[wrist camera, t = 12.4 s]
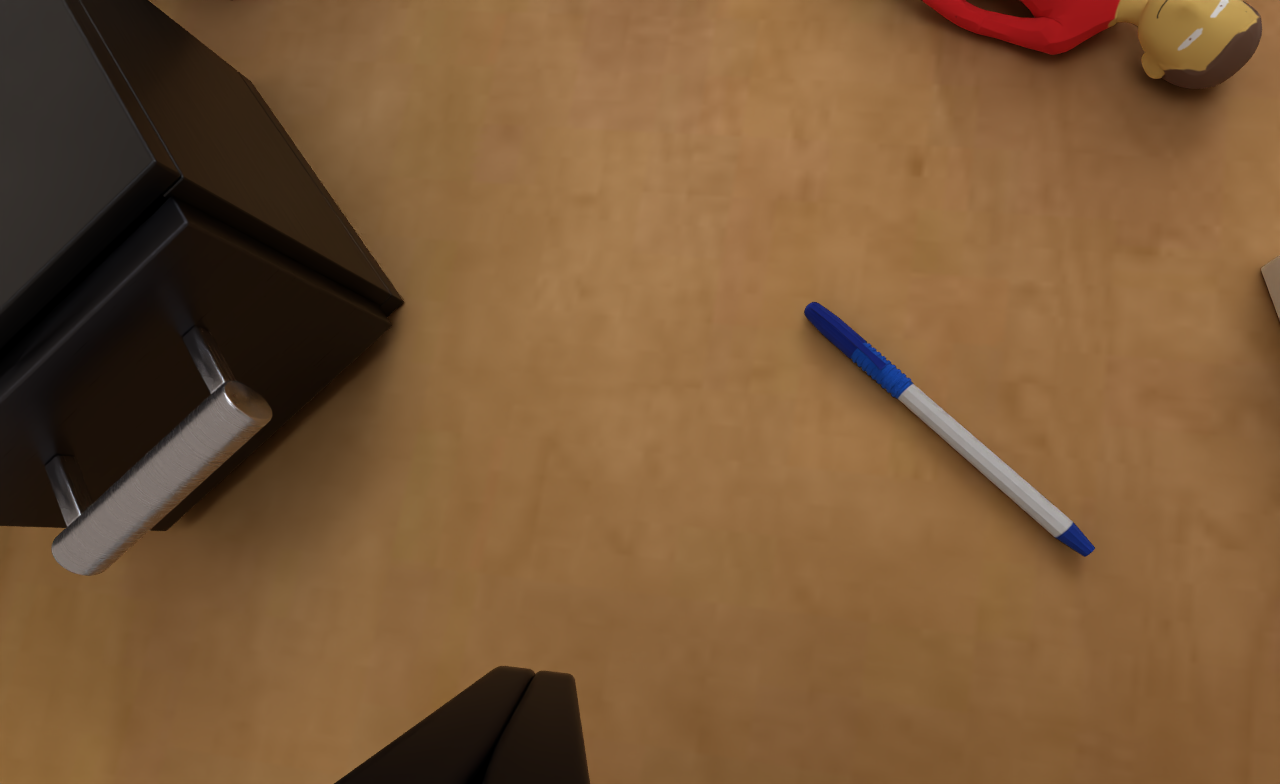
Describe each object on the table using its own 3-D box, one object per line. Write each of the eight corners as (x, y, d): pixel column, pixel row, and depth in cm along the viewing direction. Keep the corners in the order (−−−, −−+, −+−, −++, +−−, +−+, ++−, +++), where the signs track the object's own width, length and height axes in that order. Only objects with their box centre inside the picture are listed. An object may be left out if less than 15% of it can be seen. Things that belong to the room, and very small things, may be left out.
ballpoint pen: (796, 321, 23) (794, 312, 22) (815, 302, 23) (814, 291, 22) (1077, 559, 19) (1089, 559, 18) (1101, 536, 19) (1114, 535, 18)
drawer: (445, 402, 25) (247, 327, 17) (203, 616, 26) (-98, 647, 18) (245, 106, 31) (31, -53, 23) (58, 286, 32) (-212, 195, 24)
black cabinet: (404, 302, 27) (155, 160, 18) (166, 518, 28) (-197, 500, 19) (251, 81, 33) (-6, -122, 23) (55, 269, 34) (-271, 153, 24)
